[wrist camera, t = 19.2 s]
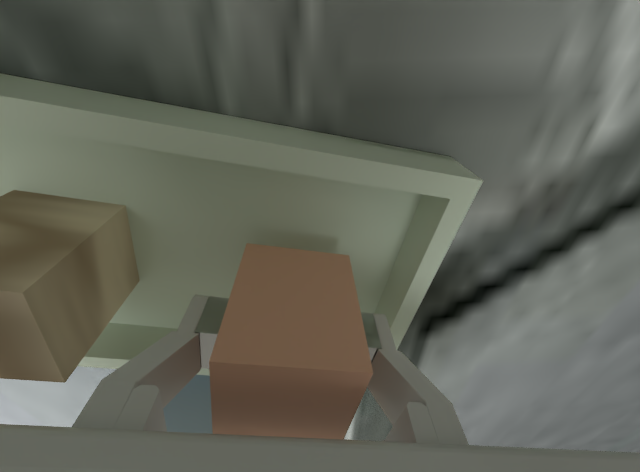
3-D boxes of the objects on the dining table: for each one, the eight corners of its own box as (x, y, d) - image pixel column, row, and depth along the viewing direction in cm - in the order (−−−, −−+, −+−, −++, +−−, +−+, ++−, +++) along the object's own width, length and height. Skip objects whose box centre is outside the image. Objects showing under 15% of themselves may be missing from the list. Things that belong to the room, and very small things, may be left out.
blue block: (174, 386, 20) (137, 478, 15) (168, 349, 17) (124, 444, 13) (234, 390, 20) (215, 480, 16) (235, 354, 18) (214, 447, 14)
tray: (5, 313, 15) (-45, 357, 13) (-141, 47, 9) (-284, 45, 7) (369, 346, 18) (377, 387, 16) (450, 156, 12) (483, 180, 9)
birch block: (46, 270, 13) (-77, 373, 9) (14, 189, 11) (-167, 274, 7) (139, 280, 14) (65, 382, 9) (125, 205, 12) (22, 292, 7)
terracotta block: (243, 315, 13) (212, 441, 9) (246, 243, 11) (208, 362, 7) (330, 323, 14) (340, 445, 9) (349, 255, 12) (373, 373, 7)
